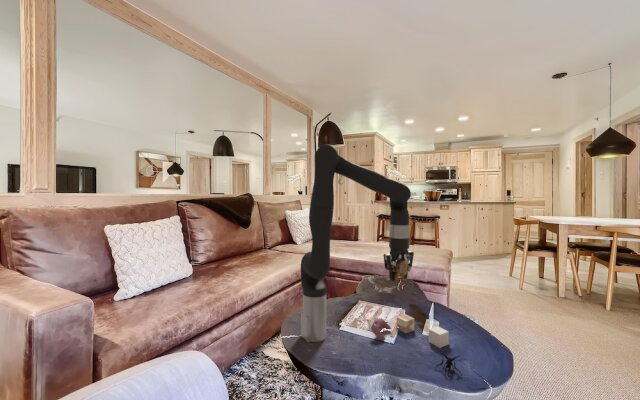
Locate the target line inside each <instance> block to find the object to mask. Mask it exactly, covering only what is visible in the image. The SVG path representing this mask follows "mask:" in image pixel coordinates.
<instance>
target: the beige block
mask: <svg viewBox="0 0 640 400" xmlns="http://www.w3.org/2000/svg"><path fill="white" fill-rule="evenodd" d="M449 337H450V333H449V331H448V330H446V329H444V328H442V327H441V326H438V325H437V326H433V327H431V328H429V329H428V342H429V343H430V344H432V345H434V346H436V347H437V348H439V349H441V348H444V347H446V346H448V345H449V343H450V342H449V341H450V340H449V339H450V338H449Z"/></svg>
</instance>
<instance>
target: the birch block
mask: <svg viewBox="0 0 640 400" xmlns="http://www.w3.org/2000/svg"><path fill="white" fill-rule="evenodd" d="M397 326H398V327H399V329H398V330H399V331H400V332H402V333H404V334H408V333H411V332H414V331H415V318H414V317H413V316H410V315H408V314H401V315H397V316H396V327H397Z"/></svg>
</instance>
